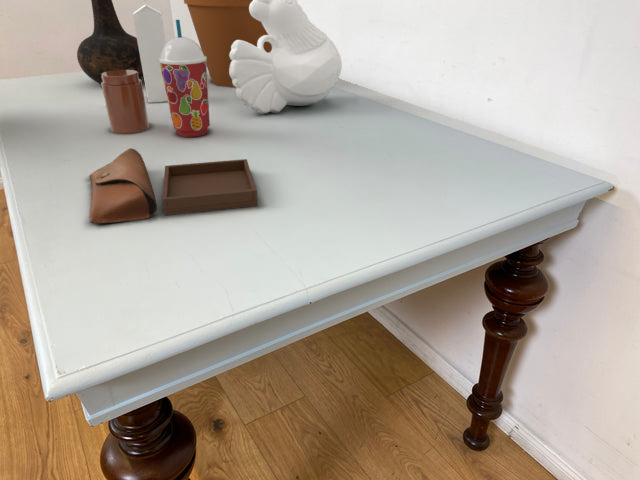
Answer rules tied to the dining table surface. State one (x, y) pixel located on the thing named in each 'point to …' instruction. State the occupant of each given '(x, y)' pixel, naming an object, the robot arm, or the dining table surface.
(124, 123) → the jar
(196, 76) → the smoothie
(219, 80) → the flowerpot
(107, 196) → the sunglasses case
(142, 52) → the milk
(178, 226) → the dining table surface
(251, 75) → the decorative rooster
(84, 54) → the dark brown vase
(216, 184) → the tray
